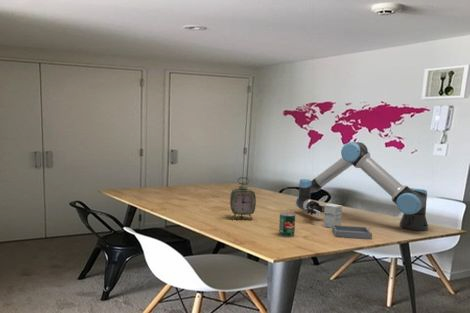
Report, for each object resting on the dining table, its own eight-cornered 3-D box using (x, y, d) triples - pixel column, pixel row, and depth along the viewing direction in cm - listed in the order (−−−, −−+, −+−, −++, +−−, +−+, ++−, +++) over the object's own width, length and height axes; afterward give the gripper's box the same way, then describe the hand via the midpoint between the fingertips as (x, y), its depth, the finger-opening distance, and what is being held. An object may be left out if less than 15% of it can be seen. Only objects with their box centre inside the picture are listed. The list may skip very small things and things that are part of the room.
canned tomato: (284, 232, 215) (285, 211, 215) (297, 235, 210) (298, 214, 210) (275, 235, 209) (276, 213, 209) (289, 238, 204) (290, 216, 204)
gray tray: (365, 232, 222) (366, 227, 222) (371, 239, 208) (372, 233, 208) (332, 230, 224) (332, 225, 224) (335, 237, 210) (335, 231, 210)
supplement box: (322, 226, 233) (323, 204, 232) (329, 224, 238) (331, 203, 237) (334, 229, 228) (335, 206, 227) (341, 227, 233) (342, 205, 232)
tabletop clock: (230, 220, 239) (232, 177, 238) (229, 217, 248) (230, 176, 247) (254, 220, 241) (256, 178, 239) (252, 217, 250) (254, 176, 248)
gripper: (328, 212, 258) (348, 219, 238) (293, 213, 251) (310, 220, 230) (329, 200, 258) (349, 206, 238) (293, 200, 250) (310, 207, 230)
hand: (330, 213), depth 234 cm, fingers open, 13 cm apart
